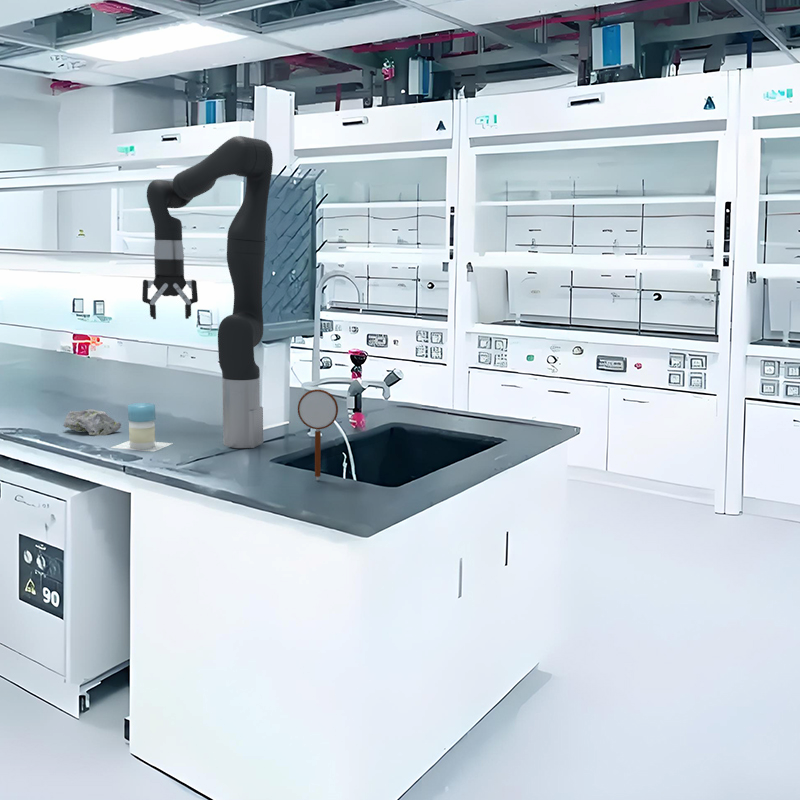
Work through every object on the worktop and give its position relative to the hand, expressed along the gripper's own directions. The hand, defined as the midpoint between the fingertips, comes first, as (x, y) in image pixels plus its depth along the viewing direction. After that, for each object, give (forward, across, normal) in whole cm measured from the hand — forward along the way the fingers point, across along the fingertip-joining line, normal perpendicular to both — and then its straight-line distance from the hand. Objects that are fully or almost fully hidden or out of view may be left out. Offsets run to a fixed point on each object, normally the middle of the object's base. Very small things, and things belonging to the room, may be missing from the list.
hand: (170, 318), depth 231 cm
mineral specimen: (+30, +21, +1) cm, 37 cm away
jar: (+30, +10, +22) cm, 39 cm away
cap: (+23, +10, +22) cm, 33 cm away
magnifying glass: (+30, -24, +63) cm, 74 cm away
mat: (+30, +10, +21) cm, 38 cm away
